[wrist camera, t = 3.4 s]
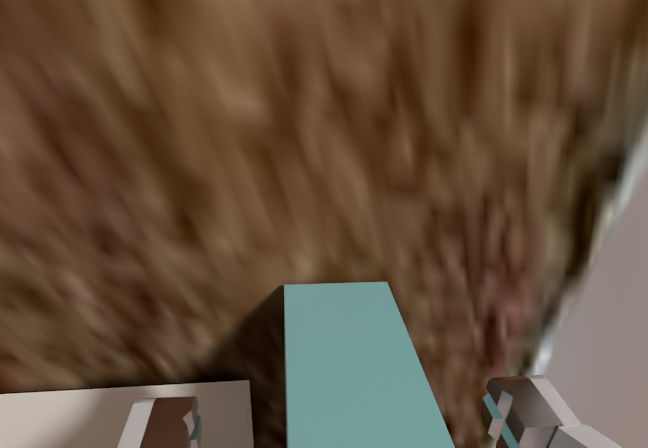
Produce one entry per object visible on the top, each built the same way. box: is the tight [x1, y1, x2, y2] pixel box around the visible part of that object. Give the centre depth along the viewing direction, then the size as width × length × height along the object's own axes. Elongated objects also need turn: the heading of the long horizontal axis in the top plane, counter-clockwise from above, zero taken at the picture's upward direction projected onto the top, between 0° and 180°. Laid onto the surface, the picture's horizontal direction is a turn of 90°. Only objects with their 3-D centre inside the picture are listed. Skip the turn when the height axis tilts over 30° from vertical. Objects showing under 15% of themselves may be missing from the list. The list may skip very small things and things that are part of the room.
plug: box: [284, 282, 455, 448], centre depth 11 cm, size 3×3×8 cm
